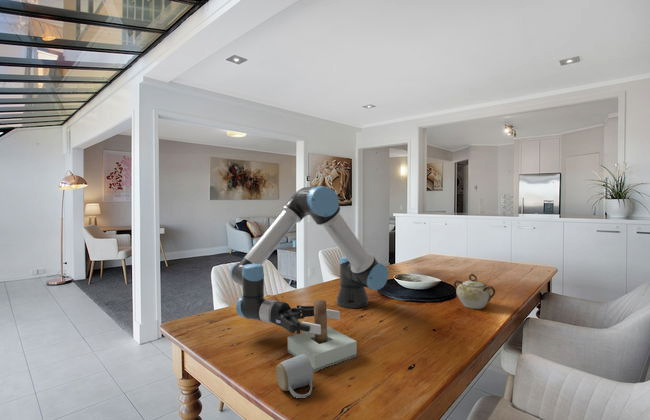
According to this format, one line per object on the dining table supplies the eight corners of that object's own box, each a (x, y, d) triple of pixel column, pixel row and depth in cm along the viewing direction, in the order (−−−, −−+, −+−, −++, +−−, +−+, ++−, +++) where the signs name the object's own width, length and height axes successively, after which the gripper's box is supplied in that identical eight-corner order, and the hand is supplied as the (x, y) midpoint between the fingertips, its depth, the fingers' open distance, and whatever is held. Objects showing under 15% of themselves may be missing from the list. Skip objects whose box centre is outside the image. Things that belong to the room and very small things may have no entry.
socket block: (287, 351, 109) (287, 336, 108) (327, 339, 118) (326, 325, 118) (314, 372, 96) (314, 355, 95) (356, 356, 105) (356, 341, 105)
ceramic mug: (274, 384, 90) (273, 356, 89) (300, 375, 94) (300, 349, 94) (291, 405, 81) (291, 374, 80) (320, 394, 85) (320, 365, 85)
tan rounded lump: (283, 305, 157) (283, 297, 157) (271, 308, 153) (270, 300, 153) (272, 301, 164) (272, 293, 164) (260, 304, 160) (260, 296, 160)
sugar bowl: (445, 304, 157) (445, 272, 156) (462, 298, 166) (462, 268, 165) (486, 315, 141) (486, 280, 140) (502, 308, 150) (503, 275, 149)
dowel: (312, 350, 107) (311, 301, 107) (322, 347, 110) (321, 299, 109) (319, 355, 104) (318, 304, 103) (330, 351, 106) (328, 302, 106)
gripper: (295, 311, 126) (346, 320, 116) (252, 336, 104) (310, 349, 94) (294, 292, 126) (346, 299, 116) (251, 312, 103) (310, 323, 94)
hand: (330, 322), depth 105 cm, fingers open, 13 cm apart
